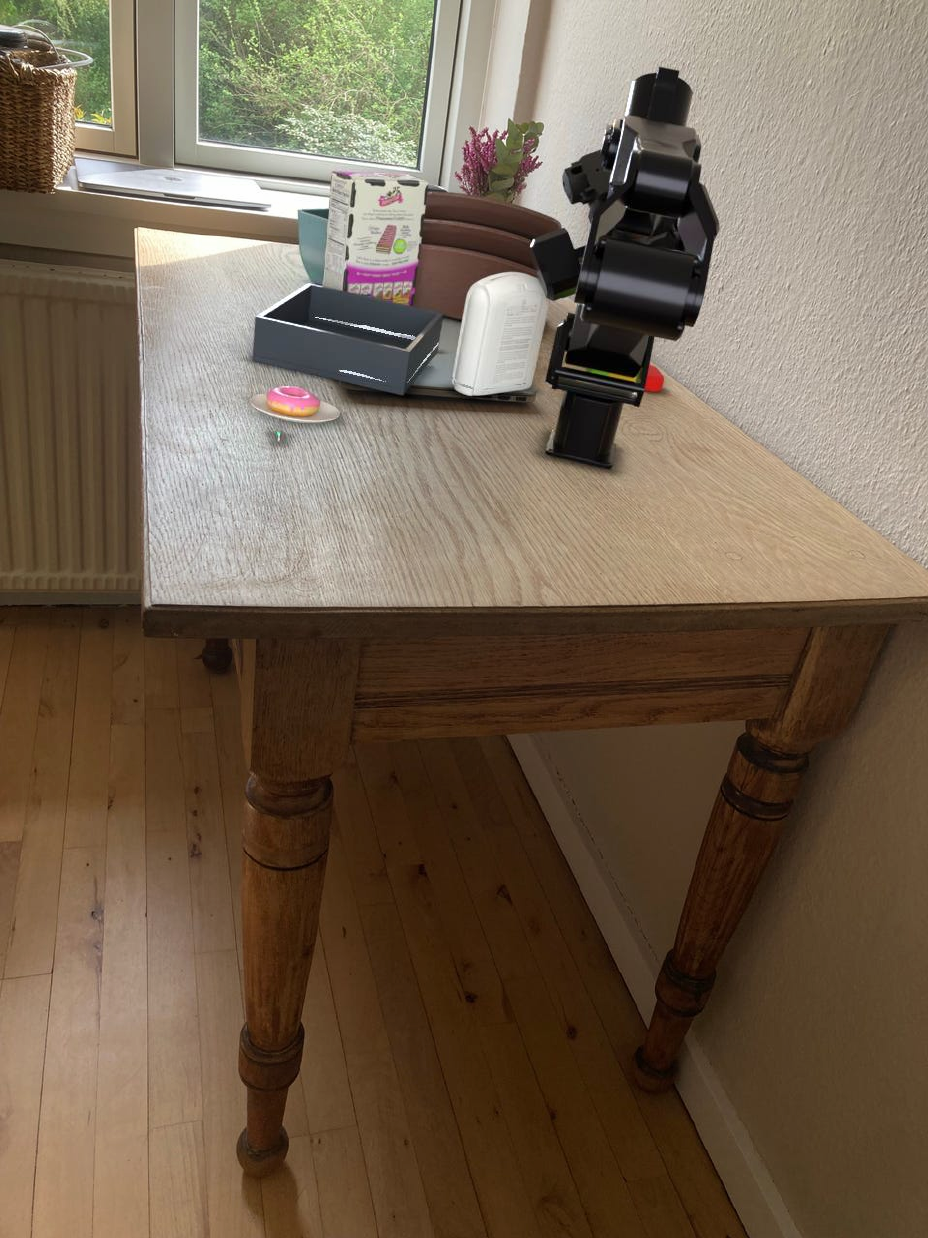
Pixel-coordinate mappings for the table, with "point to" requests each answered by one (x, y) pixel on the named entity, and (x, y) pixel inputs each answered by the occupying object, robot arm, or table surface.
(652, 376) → the popsicle
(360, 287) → the candy bar box
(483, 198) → the letter holder
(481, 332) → the photo printer
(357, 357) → the tote
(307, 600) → the table surface
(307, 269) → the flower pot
